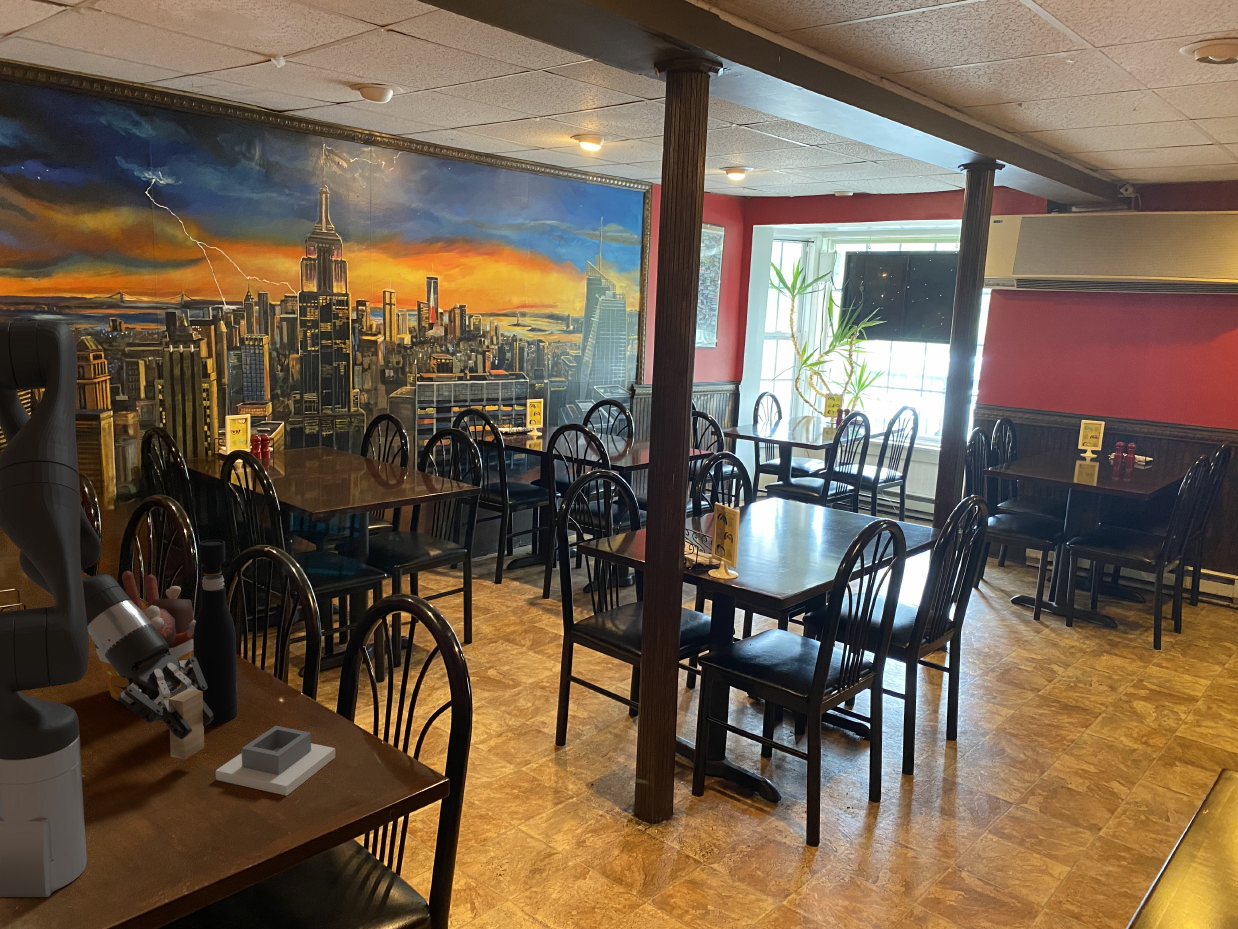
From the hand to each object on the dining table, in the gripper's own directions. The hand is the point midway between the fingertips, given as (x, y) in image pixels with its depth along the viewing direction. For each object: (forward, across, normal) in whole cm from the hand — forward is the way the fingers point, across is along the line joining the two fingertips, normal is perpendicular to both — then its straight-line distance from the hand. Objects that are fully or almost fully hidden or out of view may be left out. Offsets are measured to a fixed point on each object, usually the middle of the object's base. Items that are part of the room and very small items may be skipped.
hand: (197, 728), depth 135 cm
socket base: (+12, +5, -2) cm, 13 cm away
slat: (+2, 0, +4) cm, 5 cm away
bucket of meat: (-14, +19, +24) cm, 33 cm away
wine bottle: (-2, +16, +12) cm, 19 cm away
